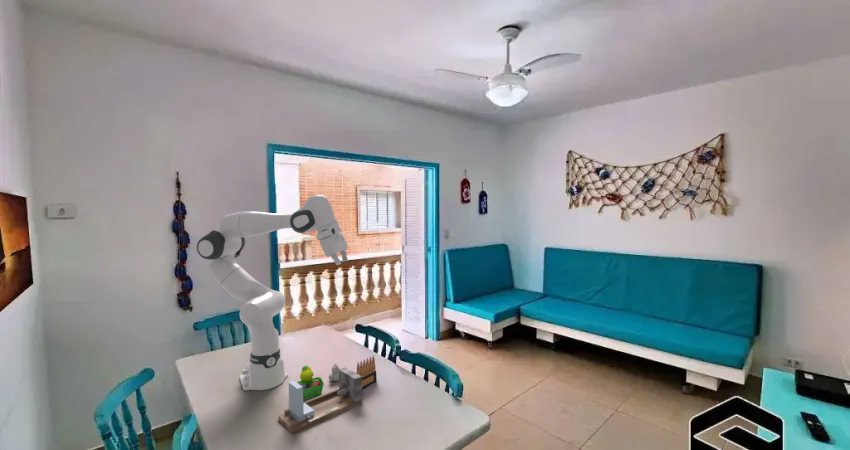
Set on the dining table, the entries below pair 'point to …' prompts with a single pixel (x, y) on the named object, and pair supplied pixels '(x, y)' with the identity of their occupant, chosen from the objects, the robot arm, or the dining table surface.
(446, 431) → the dining table surface
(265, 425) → the dining table surface
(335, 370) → the grey figurine
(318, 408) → the base
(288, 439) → the dining table surface
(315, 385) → the fruit basket
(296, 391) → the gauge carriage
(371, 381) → the ammunition clip
